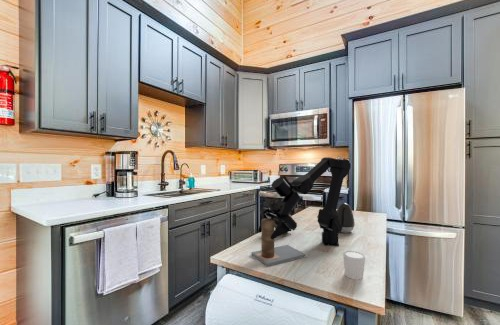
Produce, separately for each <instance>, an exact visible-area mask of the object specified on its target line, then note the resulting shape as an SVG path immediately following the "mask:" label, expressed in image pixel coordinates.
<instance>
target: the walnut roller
mask: <svg viewBox="0 0 500 325" xmlns="http://www.w3.org/2000/svg"><path fill="white" fill-rule="evenodd" d="M261 220H262V232H261V250H262V257H264V258H273V257H274V247H275V239H273V240H272V239H271V238H270V237H271V235H272V234H273V232H274V230H275V227H274V219H269V218H266V219H262V218H261Z"/></svg>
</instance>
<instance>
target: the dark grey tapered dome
mask: <svg viewBox="0 0 500 325" xmlns="http://www.w3.org/2000/svg"><path fill="white" fill-rule="evenodd" d="M336 211H337V214H338V222H339V224H340V225H341V226H342V231H341V232H340V233H343V234H344V233H345V234H347V233H350V232H352V231H353V230H354V228H355V225H356V224H355V217H354V213H353V210H352V208H351V206H350V204H348V203H347V202H342V203H340V204H339V205H337V208H336Z"/></svg>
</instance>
